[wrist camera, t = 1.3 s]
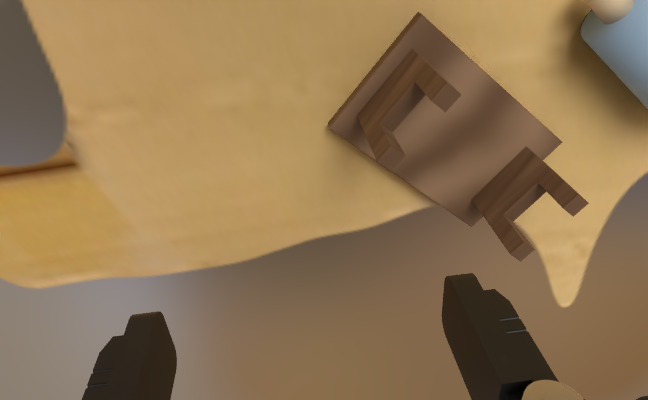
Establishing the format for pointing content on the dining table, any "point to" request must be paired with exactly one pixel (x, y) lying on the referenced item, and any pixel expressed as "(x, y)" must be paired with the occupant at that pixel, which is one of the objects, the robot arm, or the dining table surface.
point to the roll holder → (454, 134)
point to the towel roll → (621, 40)
